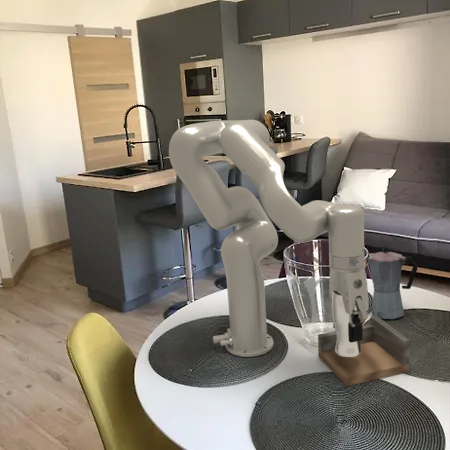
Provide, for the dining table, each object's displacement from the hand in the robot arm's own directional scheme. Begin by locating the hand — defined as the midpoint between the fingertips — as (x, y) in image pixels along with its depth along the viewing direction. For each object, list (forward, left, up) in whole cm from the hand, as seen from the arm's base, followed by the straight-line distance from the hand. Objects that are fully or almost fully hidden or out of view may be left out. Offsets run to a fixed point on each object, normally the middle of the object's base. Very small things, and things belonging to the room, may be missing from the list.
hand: (347, 333), depth 117 cm
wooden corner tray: (+4, +1, -9) cm, 10 cm away
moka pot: (+25, +22, -10) cm, 35 cm away
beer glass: (0, 0, -5) cm, 5 cm away
